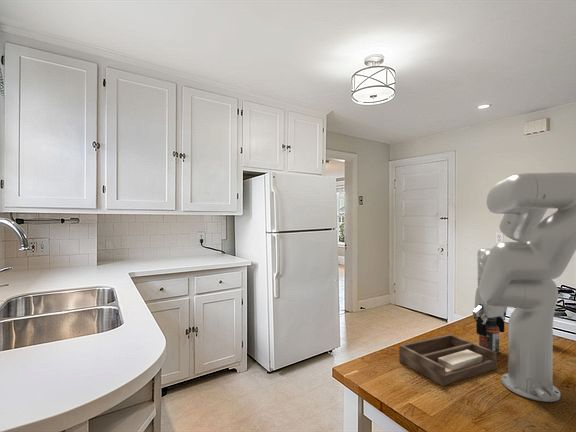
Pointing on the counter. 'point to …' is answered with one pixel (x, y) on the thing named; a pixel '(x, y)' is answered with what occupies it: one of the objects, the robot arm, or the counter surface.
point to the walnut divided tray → (429, 350)
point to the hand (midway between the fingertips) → (490, 333)
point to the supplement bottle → (490, 336)
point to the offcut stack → (459, 360)
